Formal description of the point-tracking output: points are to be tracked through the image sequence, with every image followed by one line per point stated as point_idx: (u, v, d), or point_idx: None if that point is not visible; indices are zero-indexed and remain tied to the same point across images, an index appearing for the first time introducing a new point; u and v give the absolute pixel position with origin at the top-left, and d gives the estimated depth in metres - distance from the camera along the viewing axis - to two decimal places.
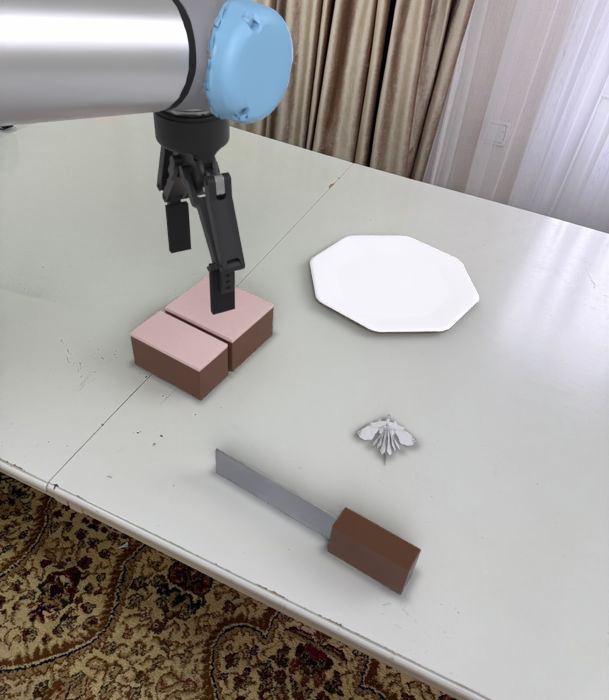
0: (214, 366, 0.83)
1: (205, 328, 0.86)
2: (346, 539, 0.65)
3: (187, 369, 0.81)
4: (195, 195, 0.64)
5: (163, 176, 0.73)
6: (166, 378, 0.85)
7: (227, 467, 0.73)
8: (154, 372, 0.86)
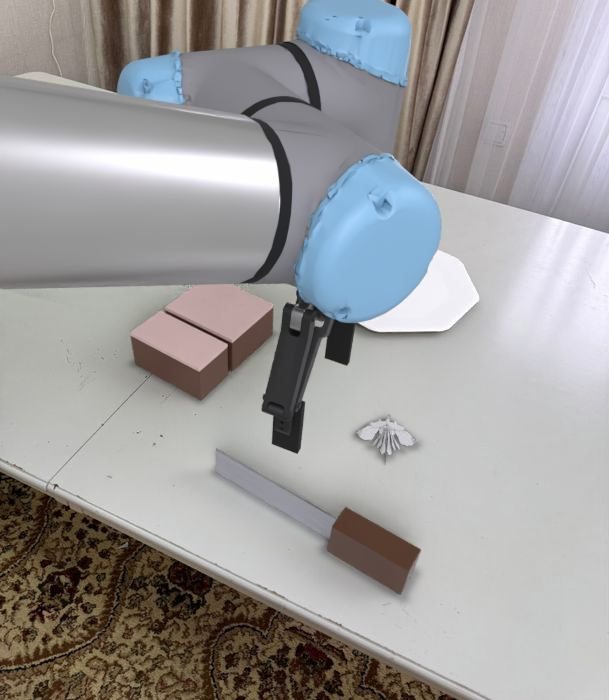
0: (214, 366, 0.83)
1: (205, 328, 0.86)
2: (346, 539, 0.65)
3: (187, 369, 0.81)
4: None
5: None
6: (166, 378, 0.85)
7: (227, 467, 0.73)
8: (154, 372, 0.86)
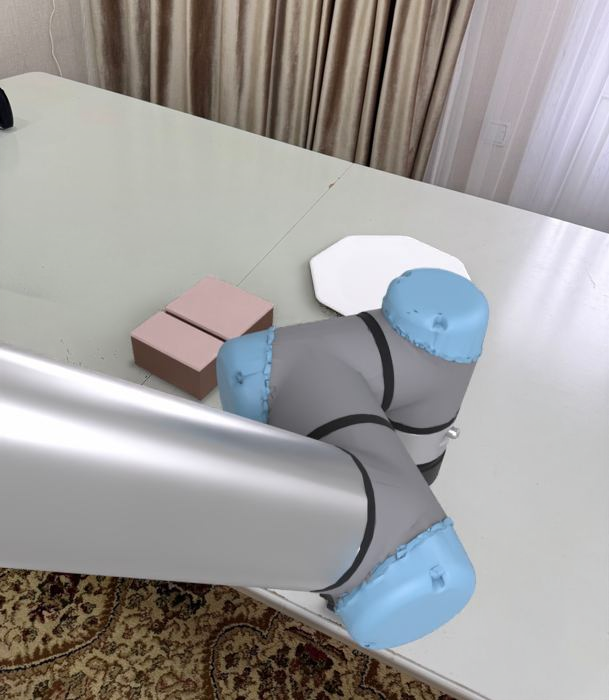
0: (214, 366, 0.83)
1: (205, 328, 0.86)
2: None
3: (187, 369, 0.81)
4: None
5: None
6: (166, 378, 0.85)
7: None
8: (154, 372, 0.86)
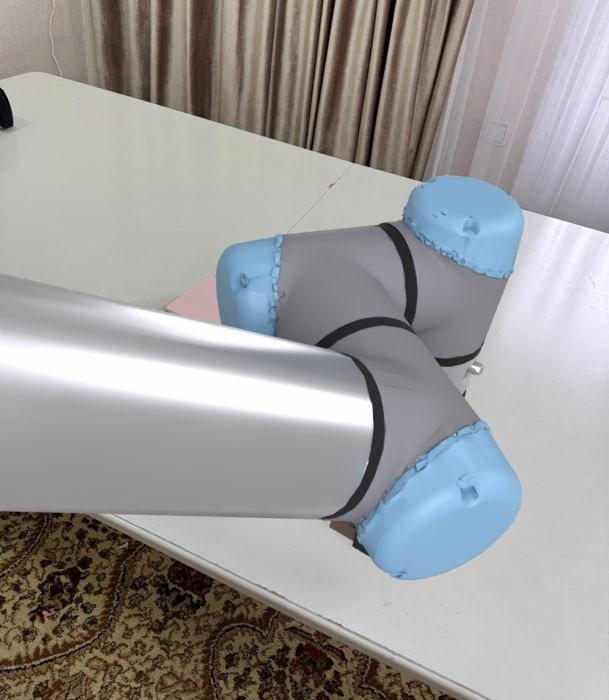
0: None
1: None
2: None
3: None
4: None
5: None
6: None
7: None
8: None
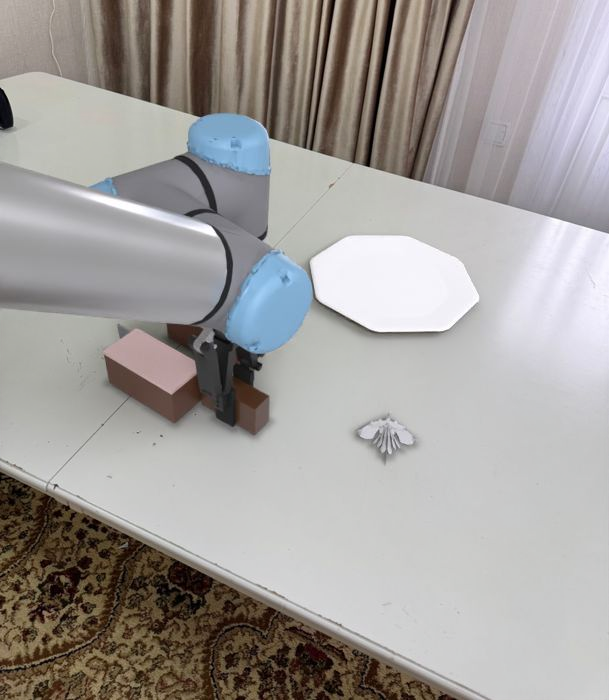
0: (189, 388, 0.80)
1: None
2: None
3: (159, 391, 0.78)
4: None
5: None
6: (140, 399, 0.82)
7: None
8: (128, 392, 0.83)
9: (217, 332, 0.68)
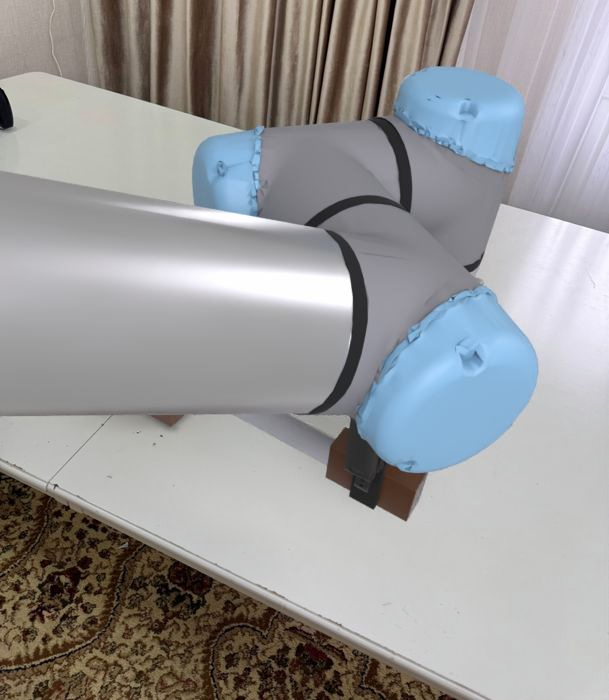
0: None
1: None
2: None
3: None
4: None
5: None
6: None
7: None
8: None
9: None
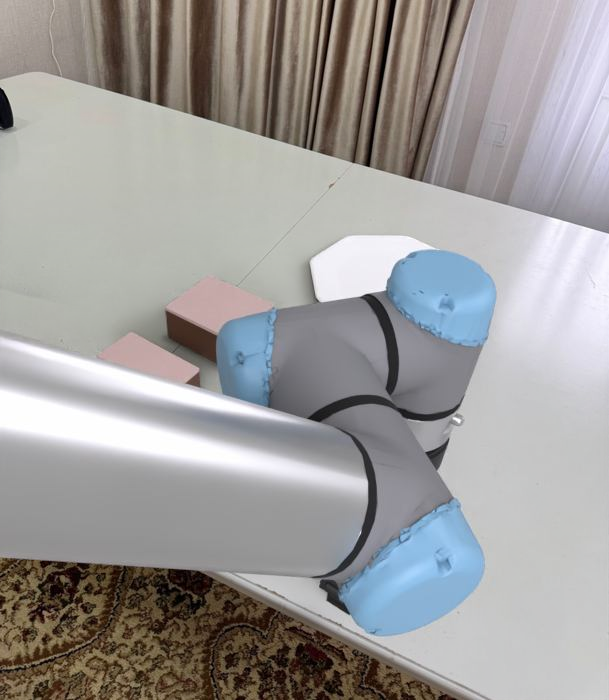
0: None
1: (205, 328, 0.86)
2: None
3: None
4: None
5: None
6: None
7: None
8: None
9: None
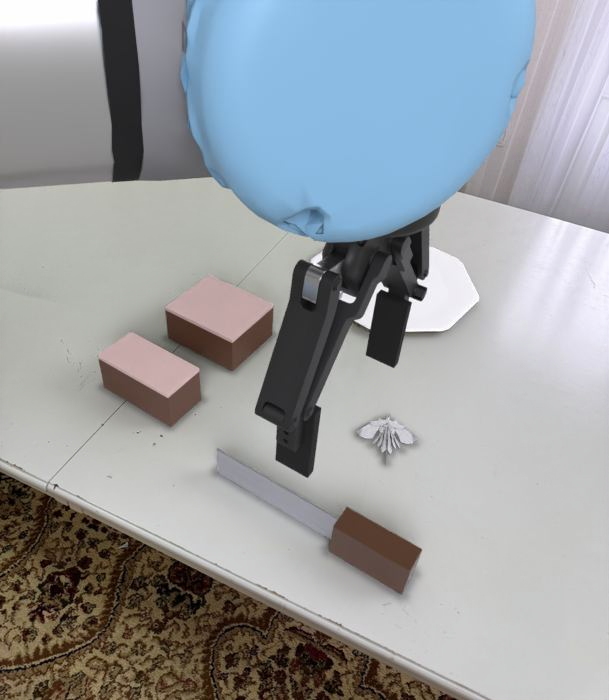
0: (185, 391, 0.79)
1: (205, 328, 0.86)
2: (347, 539, 0.65)
3: (156, 395, 0.78)
4: None
5: None
6: (135, 403, 0.82)
7: (228, 467, 0.73)
8: (123, 396, 0.83)
9: (349, 277, 0.35)
